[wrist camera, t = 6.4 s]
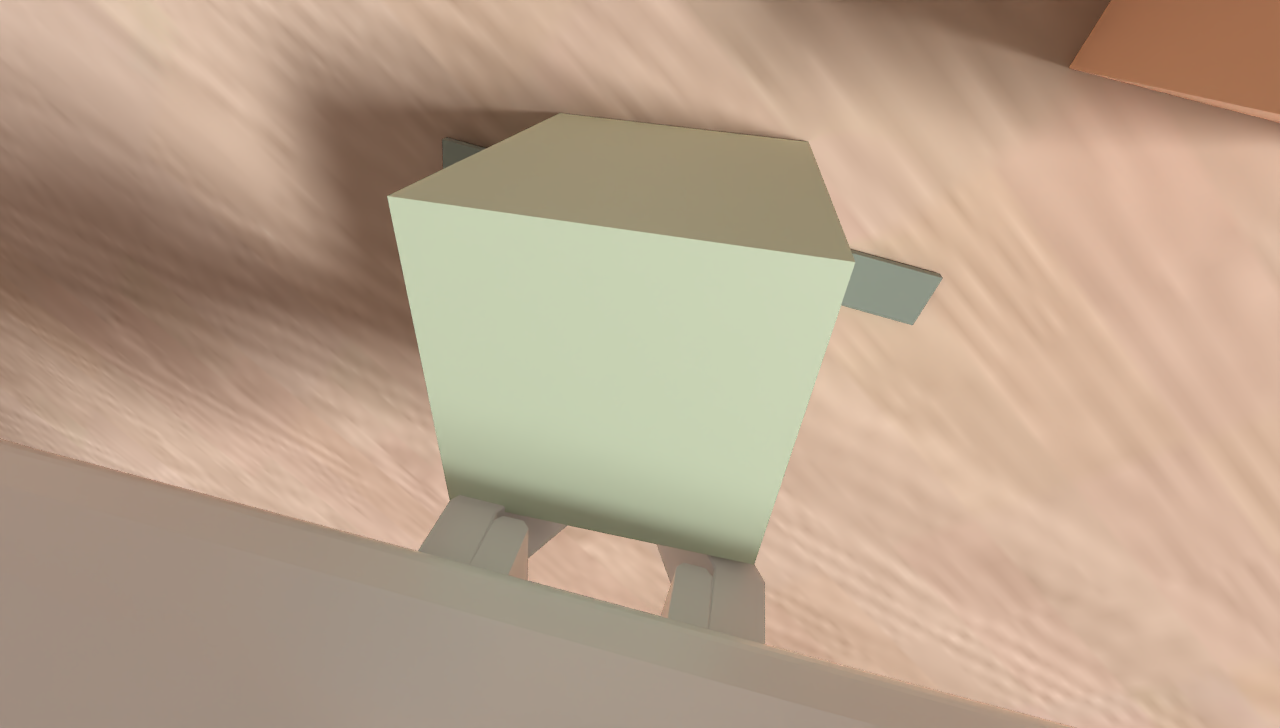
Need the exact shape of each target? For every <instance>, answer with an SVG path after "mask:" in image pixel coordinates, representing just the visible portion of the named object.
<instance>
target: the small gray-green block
mask: <svg viewBox="0 0 1280 728" xmlns="http://www.w3.org/2000/svg"><path fill="white" fill-rule="evenodd" d="M442 147H443V169H444V168H447V167H449V166H451V165H453V164H455V163H457V162H459V161H461V160H463V159H465V158H467V157H469V156H472V155H474V154H476V153H478V152H480V151H482V150H484V149H486V148H484V147H480V146H476V145H473V144H469V143H466V142H462V141H458V140H455V139H451V138H448V137H446V138H444V139H442Z"/></svg>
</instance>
